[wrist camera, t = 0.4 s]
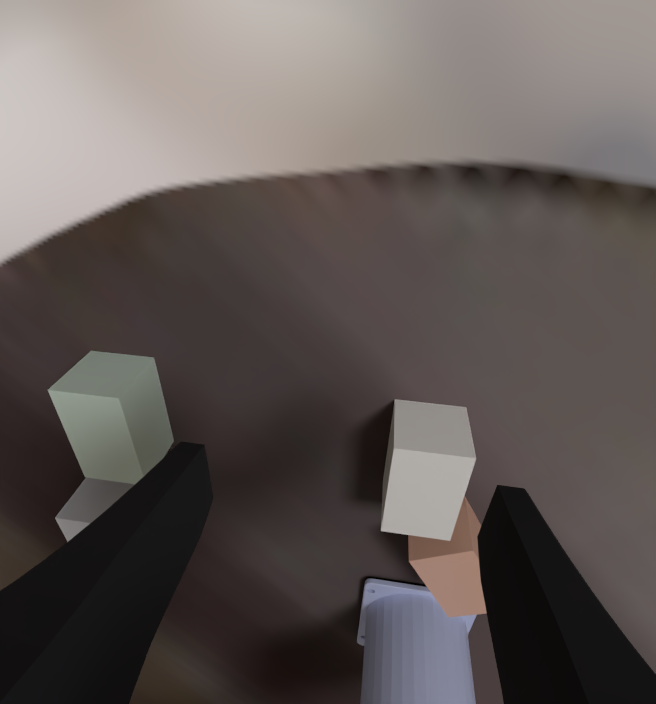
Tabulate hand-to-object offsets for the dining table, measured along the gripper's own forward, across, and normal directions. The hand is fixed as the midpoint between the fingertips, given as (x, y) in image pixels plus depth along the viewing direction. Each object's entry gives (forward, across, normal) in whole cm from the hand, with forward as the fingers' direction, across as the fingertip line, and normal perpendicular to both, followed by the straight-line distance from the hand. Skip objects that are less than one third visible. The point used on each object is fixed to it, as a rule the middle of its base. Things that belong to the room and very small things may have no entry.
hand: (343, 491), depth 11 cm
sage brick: (+10, +12, +7) cm, 17 cm away
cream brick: (+10, -4, +8) cm, 13 cm away
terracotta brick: (+10, -7, +15) cm, 19 cm away
